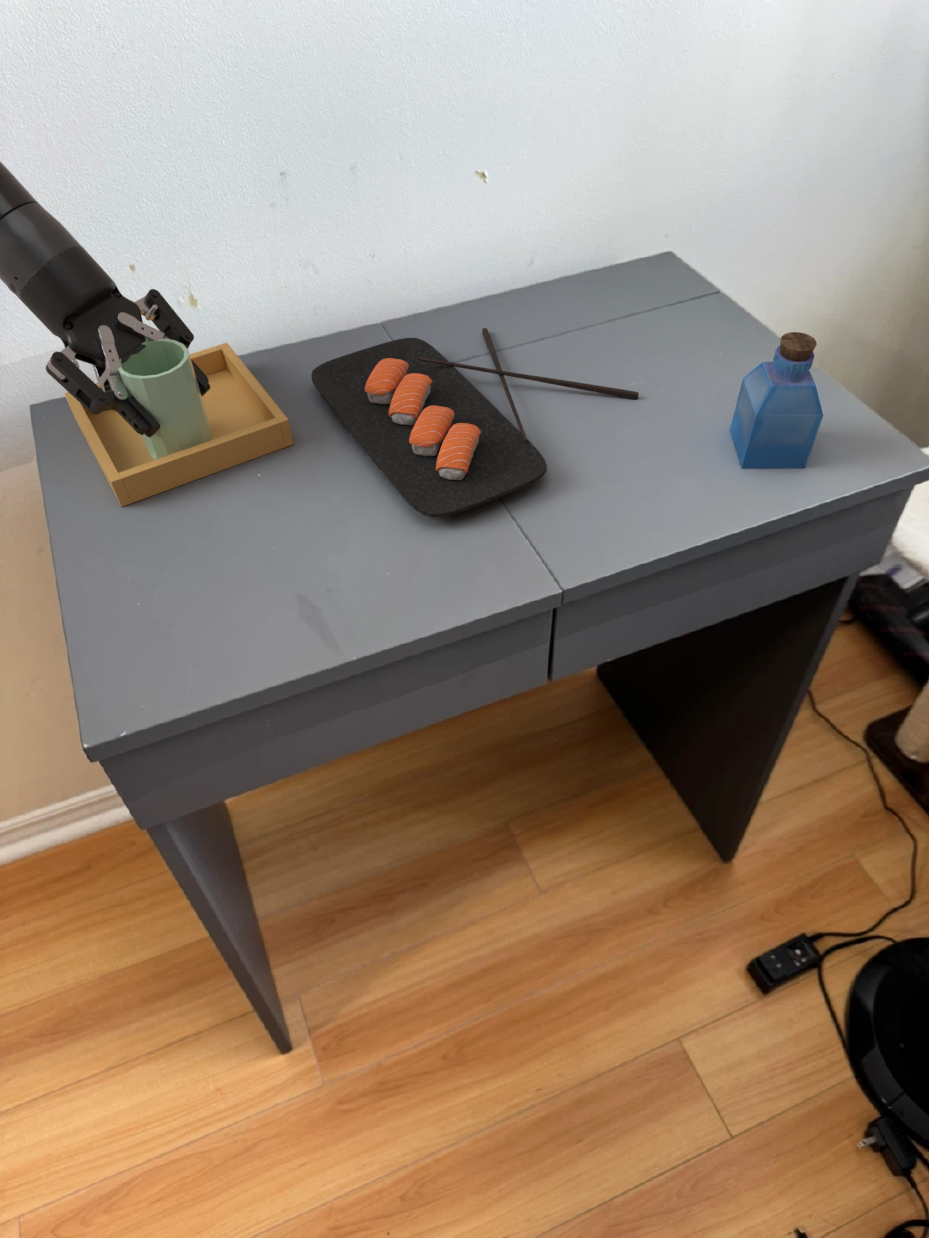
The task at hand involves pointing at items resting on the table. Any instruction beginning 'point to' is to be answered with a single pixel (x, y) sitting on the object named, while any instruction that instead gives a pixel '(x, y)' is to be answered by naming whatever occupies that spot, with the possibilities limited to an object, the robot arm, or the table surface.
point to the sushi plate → (434, 424)
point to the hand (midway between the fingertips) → (180, 412)
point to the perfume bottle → (778, 408)
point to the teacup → (167, 396)
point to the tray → (239, 435)
